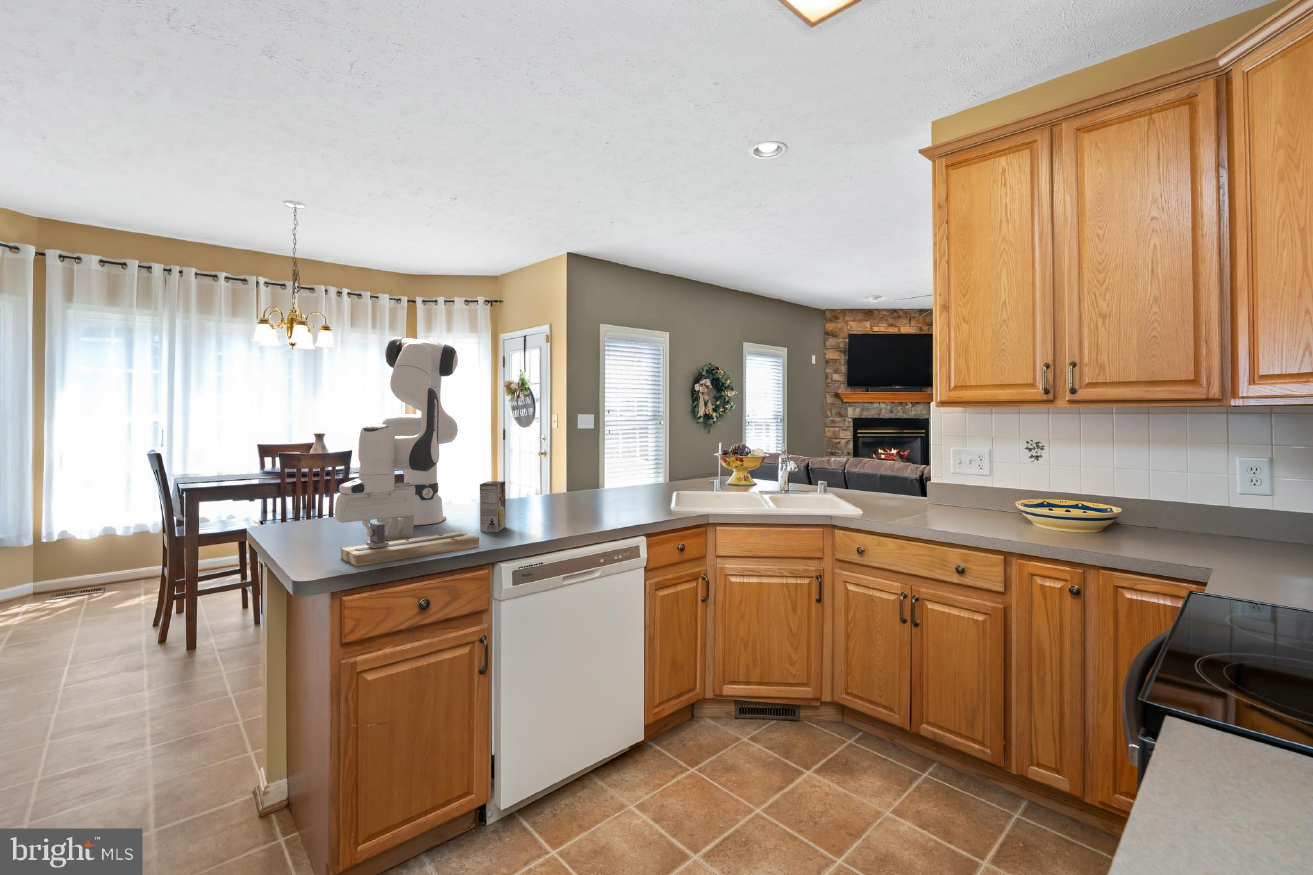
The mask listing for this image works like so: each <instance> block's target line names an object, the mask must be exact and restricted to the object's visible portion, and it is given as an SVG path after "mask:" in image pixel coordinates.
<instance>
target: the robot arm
mask: <svg viewBox="0 0 1313 875" xmlns="http://www.w3.org/2000/svg"><path fill="white" fill-rule="evenodd" d="M457 353H458V352H457V350H456V349H455V347H453V346H451V345H449V344H442V343H439V342H435V341H432V340H427V339H420V338H419V339H418V338H407V337H406V338H405V337H404V336H396V337H393V338H391V339H390V340H388V343H387V345H386V348H385V352H384V355H385V360H386V364H387V365H388V366H389V367H391V368H393V369H392V373H391V376H390V382H389V387H390V390H391V392H392V394H393V395H394V397H396V399H398V400H399V401H401V403H402V402H403V403H404V404H406V405H408V406H410V407H412V408H414V409H415V410H418V411H419V412H421V413H420V414H414V413H413V414H409V413H408V414H396V415H394V414H393V415H390V416H387V417H386V418H385V419H384V420H383V421H382V423H375V424H368V425H365V426H363V427H361V430H360V433H359V438H358V454H357V456H358V461H359V470H358V478H355V479H351V480H350V481H347V482H344V483H341V484H339V486H338V491H339V492H340V494H338V496H337V498H336V500H335V506H334V519H335V520H336V521H337V522H339V523H340V524H341V523H342V524H343V523H354V522H361V524H362V526H363V527H364V529H365V530H366V536H367V537H368V538H370V537H371V536H375V534H374V532H375V530H374V529H371V528H370V523H371V520H377V519H382V518H384V521H386V522H385V535H387V534H388V528H389V526H390V524H391V522H392V517H401V516H410V515H415V516H414V526H421V525H422V526H423V525H424V526H425V525H432V524H438V523H441V522H443V521H445V520H447V516H446V515H444V511H443V501H442V500H443V499H442V497H441V496H440V495H439V488H440V487H439V482H438V462H439V459H440V447H439V445H443V444H448V443H449V444H450V443H452V442H453V441H454V440H455V439H456V438H457V436H458V433H459V432H458V431H459V428H458V424H457V422H456V420H455V419H454V418H453V416H450V415H449V413H447V412H446V410H444V408H443V406H442V401H441V390H442V388H441V387H442V377H449V376H452V374H454V372H455V371H456V368H457V367H458V364H459V363H458V362H459V359H458V354H457ZM395 470H397V471H399V470H400V471H403V479H404V480H403V482H396V481H395V476H396V475H395Z"/></svg>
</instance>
